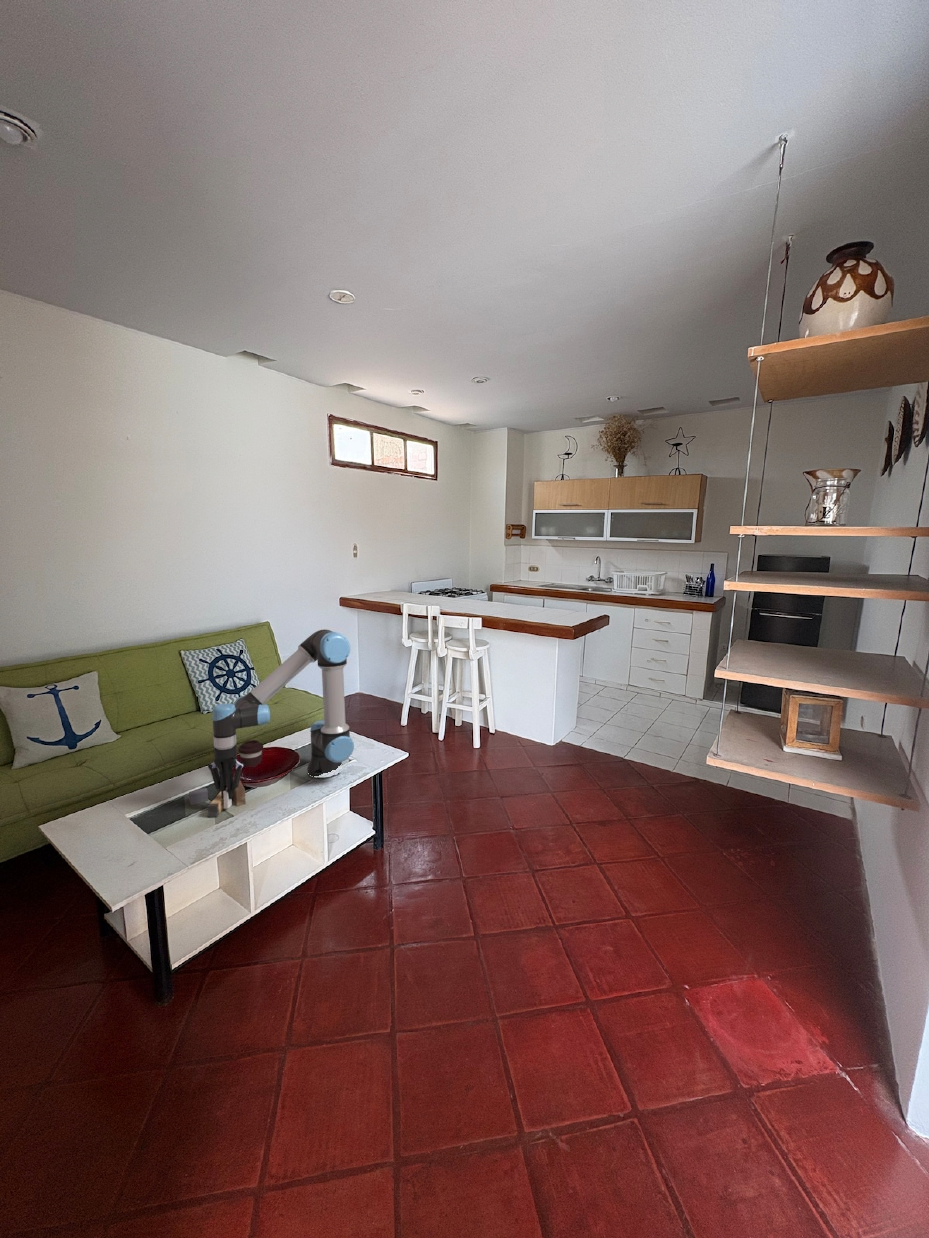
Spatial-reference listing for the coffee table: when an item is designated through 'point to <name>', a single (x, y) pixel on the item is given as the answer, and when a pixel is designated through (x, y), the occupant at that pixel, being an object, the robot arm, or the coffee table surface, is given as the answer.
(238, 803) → the curved wooden block
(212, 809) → the folding leg
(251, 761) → the coffee cup
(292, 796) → the coffee table surface
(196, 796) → the leg rest
